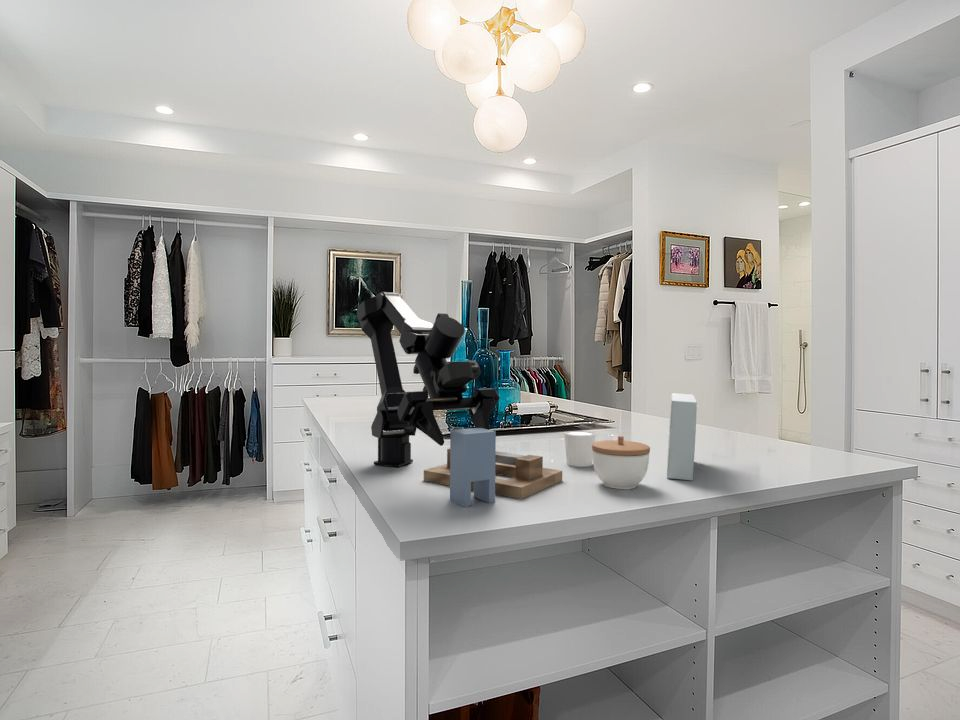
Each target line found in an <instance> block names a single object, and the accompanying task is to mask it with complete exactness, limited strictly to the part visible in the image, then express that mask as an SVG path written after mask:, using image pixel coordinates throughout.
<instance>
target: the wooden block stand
mask: <svg viewBox="0 0 960 720" xmlns="http://www.w3.org/2000/svg"><path fill="white" fill-rule="evenodd" d="M543 462H544V461H543V456H542V455H534V454H527V455H526V454H525V455H523V454H516V453H510V452H504V451H503V452H502V451H496V453H495V475H499V476H506V477H510V478H507V479H503V478H497V477H495V495H498V496H504V497H510V498H516V499H520V500H522V499H524V498H526V497H529V496H531V495H533V494H536V493H538V492H541V491H542V490H545V489H547V488H550V487H551V486H553V485H556V484H558V483H560V482H562V481H563V470H561V469H553V468H547V467H543V466H544V465H543ZM423 481H424V482H430V483H434V484H440V485H446V486H450V448H447V450H446V464H442V465H439V466H438V465H437V466H434V467H430V468H427V469H424V470H423ZM471 491H474V482H471Z"/></svg>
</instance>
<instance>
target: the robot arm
mask: <svg viewBox="0 0 960 720" xmlns="http://www.w3.org/2000/svg"><path fill="white" fill-rule="evenodd" d="M356 317H357V320H358V321H359V325H360V328H361V331H362V332H363V333H364V334H365V335H366V336H367V337H368V338H369V339H370V342H371V348H372V352H373V358H374V362H375V368H376V372H377V378H378V379H377V380H378V382H379V384H378V385H379V387H380V388H379V389H380V393H381V397H380V399H379V402H378V403H377V407H376V414H375V416H374V419H373V421H372V424H371V426H370V428H371V436H372V437H375V438H377V460H374V461H373V464H374V465H379V466H387V467H395V468H398V467H402V466H405V465H408V464H410V463H413V462H414V459H412V448H411V447H412V443H411V442H410V436H414V437H415V436H416V433H417V430H419V431H420V432H422V433H424V434H425V435H426V436H427V437H429V438H430V439H431V440H433V442H435V443H436V444H438V445H439V446H441V447H442V446H444V444H445V440H444V436H443V435H444V434H443V433H442V430H441V428H440V426H439V424H438V422H437V419H436V416H435V415H434V411H442V412H443V411H456V410H458V411H461V410H467V412H468V414H469V416H471V418H470V420H471V422H472V424H473V425H474V428H483V429H487V430H491V429H490V415H491V414H492V412H493V410H494V408H495V407H496V405H497V403H498V402H499V401H500V399H501V398H500V395H499V393H498V392H497V390H496V388H475V390H474V393H473V394H472V396H471V397H464V395H463V394H464V393H466V391H467V390H468V386H467V385H468V383H470V382H471V381H474V380H476V379H477V378H479V377H480V376H481V374H482V372H481V368H480V365H479V364H478V362H477V360H476V359H475V360H474V359H473V360H471V359H470V360H467V361H451V362H448V361H447V359H450V358H452V357H453V356H454V355H455V352H456V350H457V349H458V346H459V344H460V342H461V341H462V338H463V336H464V335H465V332H466V331H465V327H464V325H463V324H462V323H461V322H459V321H458V320H457V319H455V318H452V317H450V316H449V314H448V313H441V312H438V313H437V315H436V317H435V321H434V323H432V322H430V321H426V320H423V319H422V318H419V316H418V315H417V314H416V313H415V312H414V311H413V310H412V308H411V307H410V306H409V305H408V304H407V303H406V302H405V300H404V298H403V295H402V294H401V293H399V292H394V291H393V292H389V291H381V292H379V293H377V294H376V295H375V296H372V297H369V298H367V299H363V301H362V302H361V303H360V304H359V305H358V306H357V309H356ZM394 327H395V328H396V329H397V331H398V332H399V334H400V337H399V343H400V346H401V348H402V350H403V352H404V353H405V354H407V355H417V356H416V357H415V360H414V363H415V364H414V366H413V374H414V375H416V374H417V375H418V374H419V375H420V378H421V380H422V383H423V385H424V386H423V388H422V390H417V391H405V390H404V388H403V385H402V379H401V375H400V369H399V365H398V360H397V355H396V351H395V346H394V343H393V337H392V330H393V328H394Z"/></svg>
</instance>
